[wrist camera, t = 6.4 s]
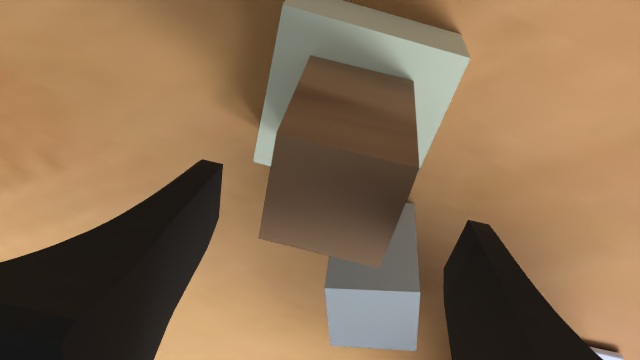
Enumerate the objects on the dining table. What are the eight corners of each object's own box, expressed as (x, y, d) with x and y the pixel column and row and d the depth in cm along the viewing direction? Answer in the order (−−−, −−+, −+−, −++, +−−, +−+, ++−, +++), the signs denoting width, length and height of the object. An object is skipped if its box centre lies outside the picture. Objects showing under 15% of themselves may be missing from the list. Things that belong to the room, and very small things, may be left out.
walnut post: (384, 166, 20) (379, 268, 15) (292, 143, 20) (258, 238, 15) (413, 80, 18) (419, 168, 13) (310, 55, 18) (276, 133, 13)
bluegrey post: (411, 258, 27) (416, 350, 22) (341, 256, 27) (330, 345, 22) (414, 202, 24) (420, 292, 19) (337, 201, 25) (324, 288, 20)
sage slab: (402, 165, 23) (404, 202, 21) (267, 128, 23) (252, 161, 21) (460, 31, 19) (470, 58, 17) (296, -16, 19) (282, 4, 17)
